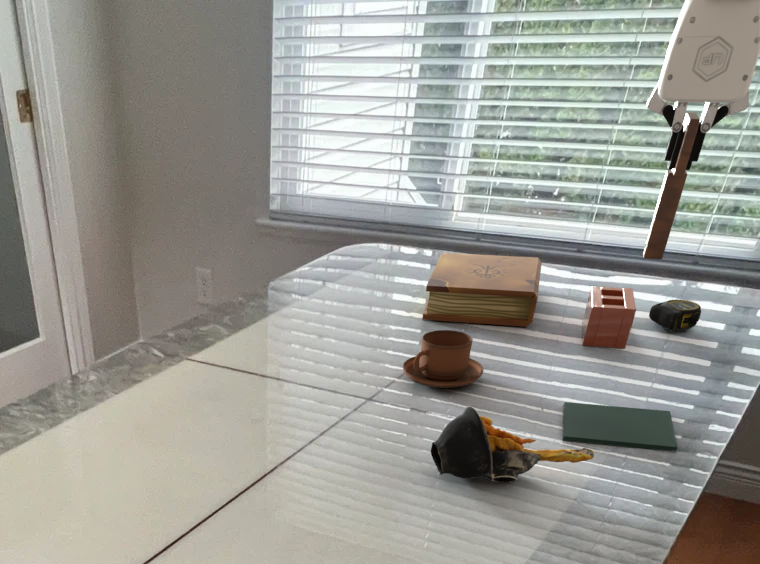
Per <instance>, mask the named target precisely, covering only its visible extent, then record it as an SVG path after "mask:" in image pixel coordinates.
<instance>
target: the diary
mask: <svg viewBox="0 0 760 564" xmlns="http://www.w3.org/2000/svg"><path fill="white" fill-rule="evenodd" d="M541 272H542V261H541V259H540V258H539V257H536V256H535V257H533V256H517V255H495V254H494V255H493V254H473V253H456V252H455V253H454V252H453V253H452V252H451V253H450V252H441V253H440V256H439V258H438V260H437V262H436V264H435V266H434V269H433V271H432V273H431V275H430V278H429V280H428V282H427V284H426V288H425V292H429V294H428V300H427V301H428V302H427V304H426V306H425V309H424V310H423V313H422V320H423V321H439V322H450V323H451V322H452V323H465V324H466V323H467V324H480V325H481V324H483V325H495V326H496V325H498V326H509V327H510V326H511V327H528V326H529V325H530V324H531V323H533V321H534V315H535V313H536V307H537V302H538V297H539V288H540V280H541Z"/></svg>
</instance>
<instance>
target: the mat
mask: <svg viewBox="0 0 760 564" xmlns="http://www.w3.org/2000/svg"><path fill="white" fill-rule="evenodd" d="M562 415H563V416H562V441H565V442H575V443H586V444H598V445H606V446H614V447H615V446H616V447H617V446H618V447H625V448H627V447H628V448H635V449H636V448H637V449H646V450H656V451H657V450H658V451H667V452H669V451H670V452H677V450H678V444H677V438H676V434H675V429H674V425H673V424H674V423H673V419H672V414H671V411H670V410H662V409H650V408H639V407H636V408H635V407H626V406H617V405H616V406H615V405H605V404H603V405H602V404H591V403H581V402H571V401H564V403H563V413H562Z"/></svg>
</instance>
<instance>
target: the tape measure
mask: <svg viewBox="0 0 760 564" xmlns="http://www.w3.org/2000/svg"><path fill="white" fill-rule="evenodd" d="M701 308H702V307H701V305H700V304H699V303H697V302H695V301H691V300H688V299H687V300H686V299H667V300H666V301H662V302H659V303H655V304H654V305H652V306H651V307H650V310H649V312H648V313H649V314H648V318H649V319H650V320H651V321H653V323H656V324H657V325H659V326H661V327H662V328H663V329H667V330H669V331H670V332H671V331H672V332H673V331H677V330H689V329H692V328H694V327H695V326H696V325H697V323H698V322H699V321H700V318H701V314H702V309H701Z"/></svg>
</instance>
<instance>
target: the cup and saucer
mask: <svg viewBox="0 0 760 564" xmlns="http://www.w3.org/2000/svg"><path fill="white" fill-rule="evenodd" d="M472 345H473V337H472V336H471V335H470V334H468V333H466V332H462V331H460V330H452V329H438V330H432V331H429V332H425V333H424V334H423V335H422V337H421V344H420V352H418V353H417V354H416V355H415V356H412V357H409V358H408V359H406V360H405V361H404V362H403V364H402V371H403V373H404V374H405V375H406V376H407V378H408V379H410V380H411V381H412V382H415V383H417V384H419V385H422V386H426V387H431V388H438V389H439V388H441V389H452V388H461V387H464V386H468V385H471V384H473V383H475V382H476V381H477V380H478V379H480V378H481V377H482V376H483V374H484V369H485V368H484V366H483V365H482V364H481V363H480V362H479V361H477V360H475V359H473V358H471V357H470V356H471V350H472Z"/></svg>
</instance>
